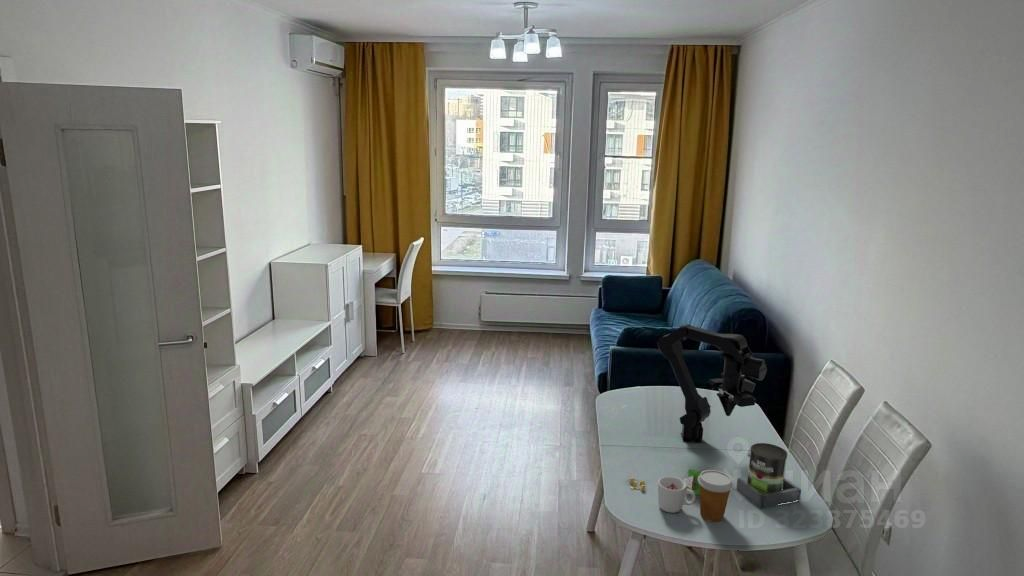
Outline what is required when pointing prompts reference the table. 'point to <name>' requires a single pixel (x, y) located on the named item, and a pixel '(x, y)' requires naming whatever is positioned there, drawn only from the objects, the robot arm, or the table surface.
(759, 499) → the grey shallow tray
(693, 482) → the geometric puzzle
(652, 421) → the table surface
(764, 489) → the coffee can
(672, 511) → the cup
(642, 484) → the dice set
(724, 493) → the disposable coffee cup
